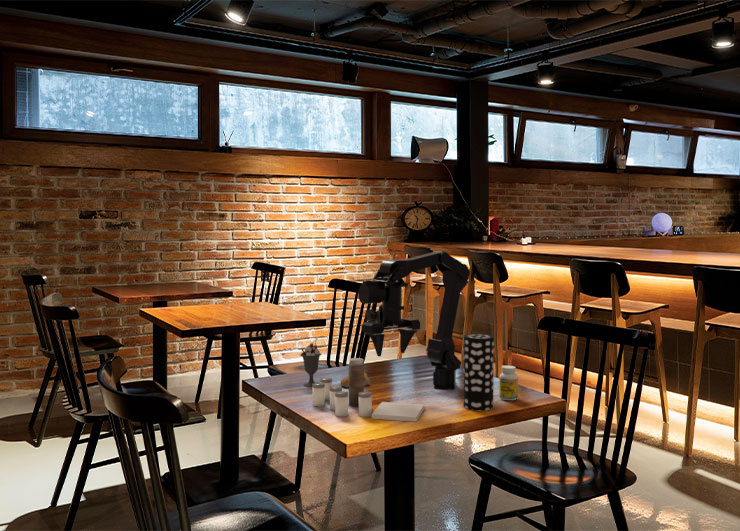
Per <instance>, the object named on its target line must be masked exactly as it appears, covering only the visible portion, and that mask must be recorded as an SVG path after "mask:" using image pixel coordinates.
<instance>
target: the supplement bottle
mask: <svg viewBox="0 0 740 531" xmlns="http://www.w3.org/2000/svg"><path fill="white" fill-rule="evenodd" d="M516 372H517V371H516V366H514V365H502V366H501V373H500V374H499V384H498V385H499V387H498V388H499V391H498V392H499V393H498V394H499V400H501V399H503V400H502V401H504V400H516V399H517V400H518V399H519V375H518V374H517V373H516ZM517 400H516V401H517Z"/></svg>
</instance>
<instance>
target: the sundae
mask: <svg viewBox="0 0 740 531" xmlns="http://www.w3.org/2000/svg"><path fill="white" fill-rule="evenodd" d="M317 340H318V338H317V337H316V338H315V339H314V342H311V343H310V344H309V345H307V346H306V347H305V348H304V349H303V348H301V351H302V352H301V353H300V357H302V359H303V366H304V371H305V372H306V373H307V374H308V376H309V378H308V380H309V381H307V382H306V383H304V384H303V386H304V387H306V386H309V387H308V388H312V384H313V383H316V382H315V381H314V380H315V379H314V375H315V374H316V372H318V368H319V362H320V357H321V356H322V353H321V352H320V350H319V349H318V345H317Z"/></svg>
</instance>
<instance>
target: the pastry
mask: <svg viewBox="0 0 740 531" xmlns="http://www.w3.org/2000/svg"><path fill="white" fill-rule="evenodd" d="M369 384H370V379H369V377H368V374H367V373H365V372H364V387H365V386H368V385H369ZM339 386H341V387H345V388H348V387H349V375H348V376H347V377H344V378H343V379H341V380H340V384H339Z"/></svg>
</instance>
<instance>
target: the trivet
mask: <svg viewBox="0 0 740 531" xmlns="http://www.w3.org/2000/svg"><path fill="white" fill-rule="evenodd" d="M424 409H425V405H424V404H415V403H401V402H387V401H381V403H379V405H378V406H377V407H376V408H375V409H374V411H373V412H372V416H371V419H373V420H374V419H376V420H387V421H399V422H400V421H403V422H417V421H418V420H419V418H420V416H421V414H422V413H423V412H424Z"/></svg>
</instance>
